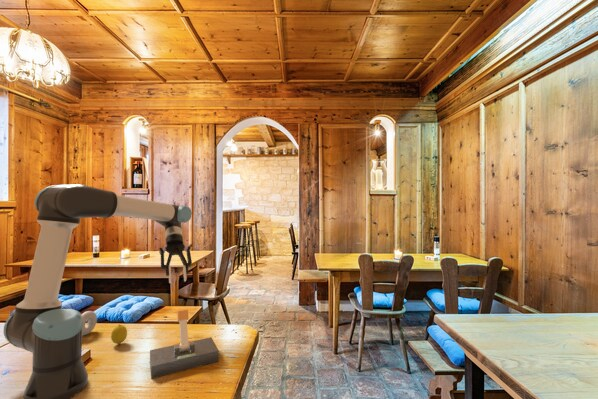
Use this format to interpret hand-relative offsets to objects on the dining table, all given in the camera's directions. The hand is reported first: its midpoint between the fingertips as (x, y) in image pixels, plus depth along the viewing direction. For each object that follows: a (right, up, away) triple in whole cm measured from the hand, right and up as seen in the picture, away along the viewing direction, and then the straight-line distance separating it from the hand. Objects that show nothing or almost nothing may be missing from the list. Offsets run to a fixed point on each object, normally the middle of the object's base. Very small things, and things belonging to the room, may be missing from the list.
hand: (178, 280), depth 125 cm
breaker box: (+10, -24, -19) cm, 32 cm away
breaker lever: (+10, -20, -19) cm, 29 cm away
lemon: (-21, -25, -6) cm, 33 cm away
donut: (-41, -24, +2) cm, 48 cm away
